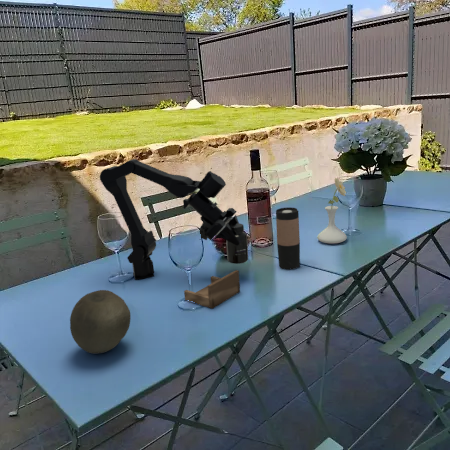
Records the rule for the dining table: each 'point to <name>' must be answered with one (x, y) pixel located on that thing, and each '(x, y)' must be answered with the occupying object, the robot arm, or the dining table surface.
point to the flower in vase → (333, 220)
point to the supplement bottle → (241, 251)
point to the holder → (216, 291)
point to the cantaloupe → (99, 321)
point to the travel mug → (288, 238)
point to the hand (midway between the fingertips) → (241, 240)
